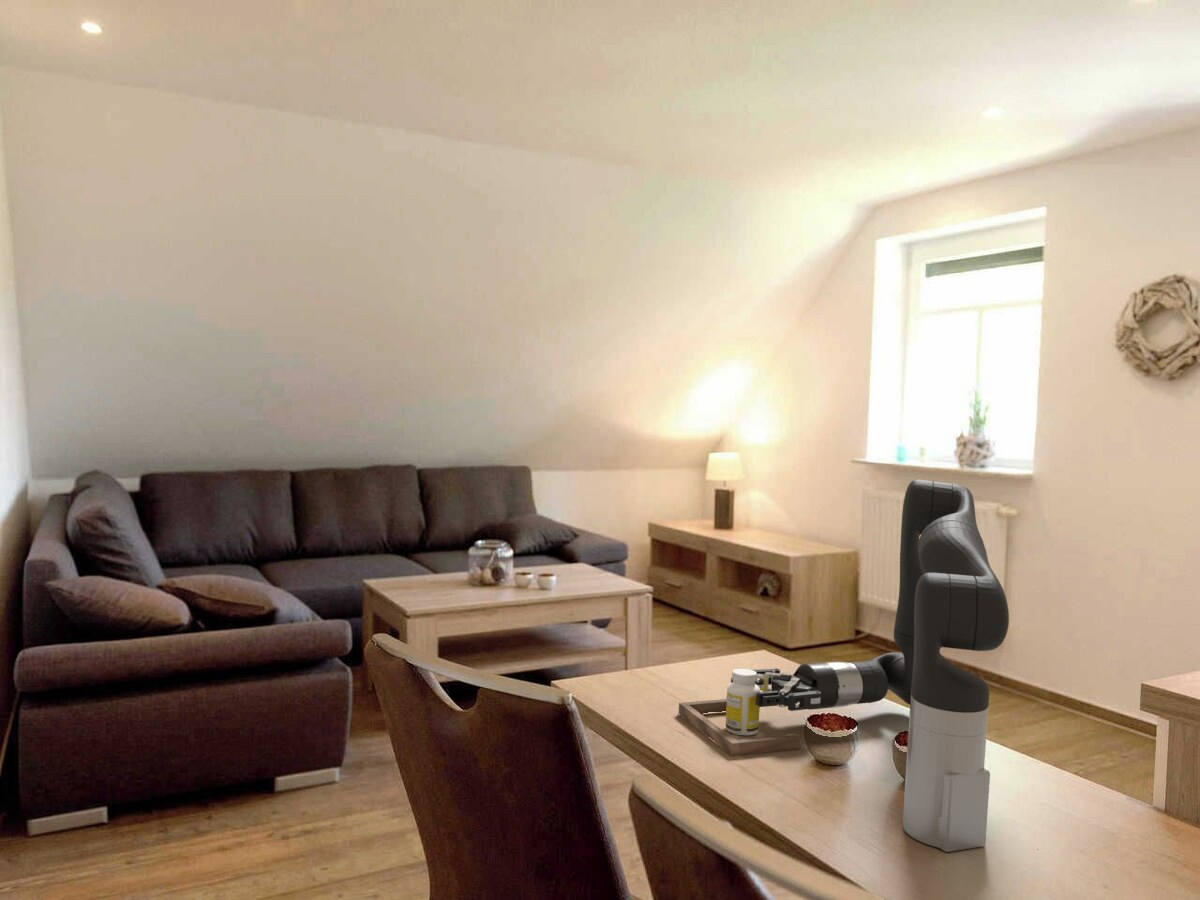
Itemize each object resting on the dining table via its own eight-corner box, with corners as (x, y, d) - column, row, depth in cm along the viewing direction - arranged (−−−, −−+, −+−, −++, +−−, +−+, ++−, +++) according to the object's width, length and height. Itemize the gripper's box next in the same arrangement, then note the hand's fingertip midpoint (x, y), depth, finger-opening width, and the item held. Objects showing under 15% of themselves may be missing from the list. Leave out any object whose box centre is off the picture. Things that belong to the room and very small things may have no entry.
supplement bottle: (757, 726, 154) (760, 668, 153) (759, 737, 149) (762, 678, 148) (724, 723, 155) (727, 666, 154) (725, 735, 149) (728, 675, 149)
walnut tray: (799, 749, 144) (800, 736, 144) (731, 756, 140) (732, 743, 140) (740, 709, 162) (740, 697, 162) (678, 714, 158) (679, 702, 158)
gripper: (806, 651, 163) (724, 656, 158) (854, 675, 150) (767, 682, 144) (803, 693, 164) (722, 700, 158) (852, 720, 150) (765, 729, 145)
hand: (744, 691), depth 151 cm, fingers open, 8 cm apart
